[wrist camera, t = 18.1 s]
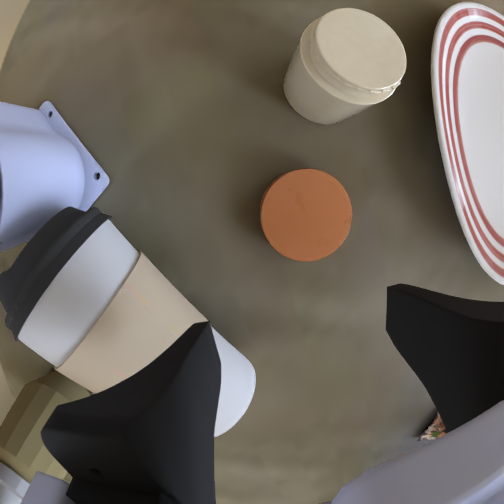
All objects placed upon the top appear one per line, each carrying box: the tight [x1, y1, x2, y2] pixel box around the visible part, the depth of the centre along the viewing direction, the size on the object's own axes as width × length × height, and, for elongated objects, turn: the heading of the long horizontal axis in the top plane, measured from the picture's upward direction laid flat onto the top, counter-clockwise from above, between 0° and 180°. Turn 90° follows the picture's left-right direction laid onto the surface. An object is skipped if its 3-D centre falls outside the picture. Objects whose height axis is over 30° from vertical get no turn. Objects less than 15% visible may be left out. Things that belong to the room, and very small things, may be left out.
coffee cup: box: [0, 206, 255, 437], centre depth 15 cm, size 9×9×15 cm
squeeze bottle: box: [0, 371, 90, 504], centre depth 14 cm, size 8×8×18 cm
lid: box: [259, 169, 352, 261], centre depth 18 cm, size 6×6×2 cm
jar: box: [283, 8, 406, 124], centre depth 13 cm, size 5×5×7 cm
